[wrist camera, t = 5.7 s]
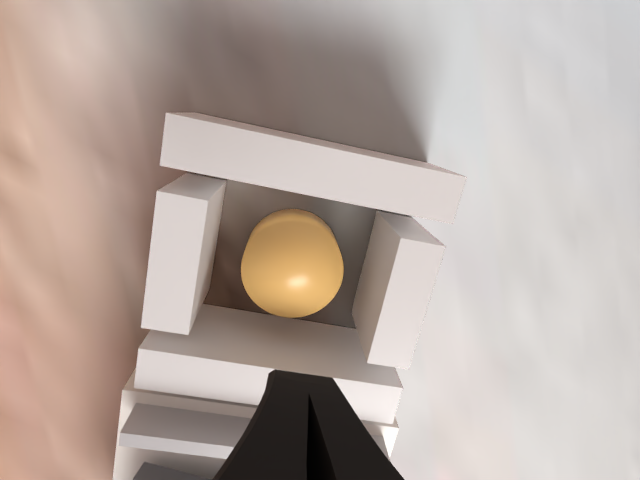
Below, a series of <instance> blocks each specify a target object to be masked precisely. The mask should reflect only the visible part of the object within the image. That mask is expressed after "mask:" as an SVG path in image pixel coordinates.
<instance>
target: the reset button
mask: <svg viewBox="0 0 640 480" xmlns="http://www.w3.org/2000/svg"><path fill="white" fill-rule="evenodd" d="M343 272H344V266H343V259H342V255H341V253H340V250H339V247H338V244H337V241H336V239H335V236H334V234H333V232H332V230H331V229H330V227H329V226H328V225H327V224H326V223H325V222H324V221H323V220H322V219H321V218H320V217H318V216H316V215H315V214H313V213H311V212H308V211H305V210H300V209H284V210H280V211H276V212H274V213H271V214H270V215H268V216H266V217H265V218H263V219H262V220H261V221H260V222H259V223H258V224H257V225H256V226H255V228H254V229H253V231H252V232H251V234H250V237H249V239H248V242H247V245H246V248H245V251H244V254H243V258H242V262H241V277H242V282H243V285H244V288H245V290H246V292H247V293H248V295H249V296H250V298H251V299H252V300H253V301H254V303H256V304H257V305H258V306H259V307H260V308H262V309H263V310H265V311H267V312H269V313H271V314H274V315H276V316H281V317H287V318H297V317H303V316H307V315H310V314H313V313H315V312H317V311H319V310H321V309H322V308H324V307H325V306H326V305H327V304H328V303H329V302H331V300H332V299H333V298H334V297H335V295H336V294H337V292H338V290H339V288H340V286H341V283H342V279H343Z"/></svg>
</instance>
